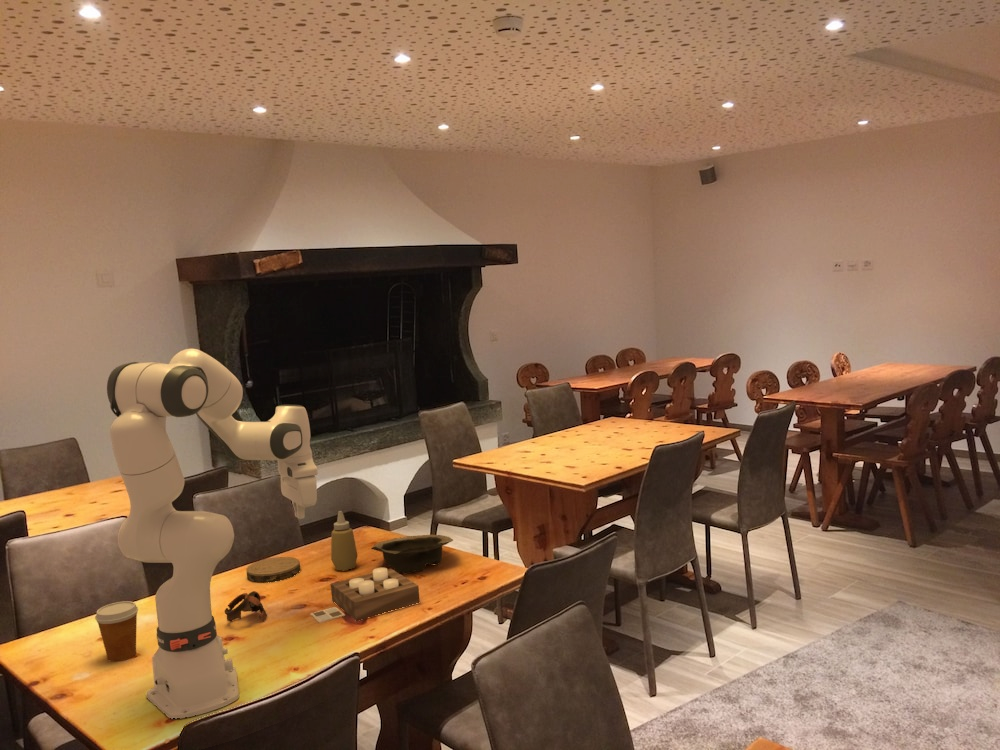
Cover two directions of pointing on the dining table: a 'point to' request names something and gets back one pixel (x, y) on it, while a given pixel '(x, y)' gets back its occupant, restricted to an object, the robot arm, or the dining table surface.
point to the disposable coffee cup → (118, 629)
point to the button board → (374, 596)
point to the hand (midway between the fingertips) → (300, 517)
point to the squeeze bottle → (343, 545)
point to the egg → (355, 582)
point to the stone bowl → (412, 551)
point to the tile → (327, 614)
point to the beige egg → (380, 574)
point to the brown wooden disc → (273, 569)
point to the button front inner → (366, 587)
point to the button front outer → (390, 583)
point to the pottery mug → (245, 606)
